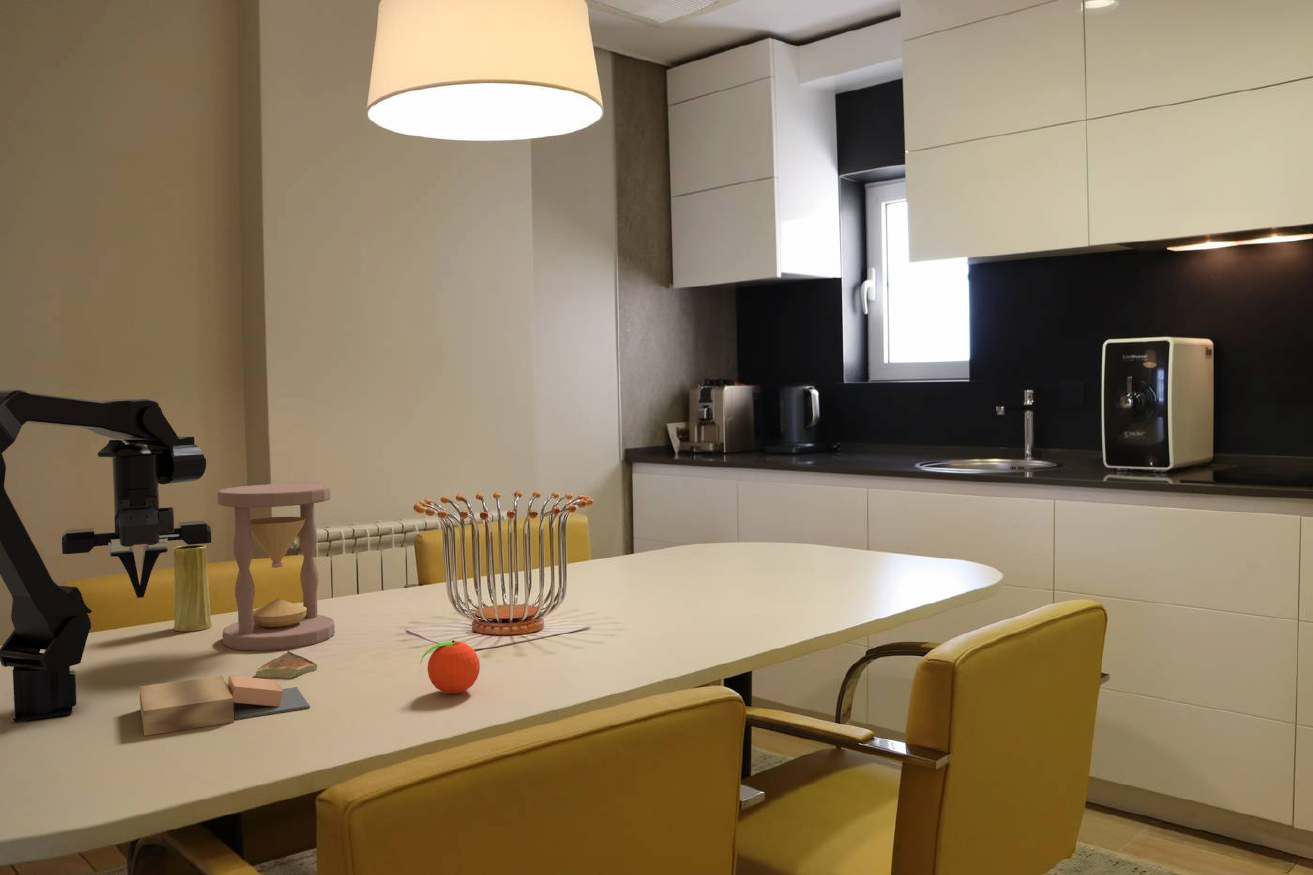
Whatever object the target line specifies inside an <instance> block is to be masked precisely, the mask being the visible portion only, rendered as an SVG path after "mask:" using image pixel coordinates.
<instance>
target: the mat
mask: <svg viewBox="0 0 1313 875" xmlns="http://www.w3.org/2000/svg"><path fill="white" fill-rule="evenodd" d="M282 690H283V695H282V699H281V704H280V707H277V706H266V705H256V704H245V703H235V702H233V707H234V720H241V719H246V718H247V719H248V718H254V717H261V716H268V715H273V714H279V713H287V712H294V711H299V710H306V709H310V708H311V705H310V703H309V702H308V701H307V699H306V698H305V696H304V695H303V694H302V692H301V691H300V690H299V688H298V687H297V686H294V687H288V688H282Z"/></svg>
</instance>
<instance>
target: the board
mask: <svg viewBox="0 0 1313 875" xmlns="http://www.w3.org/2000/svg"><path fill="white" fill-rule="evenodd" d="M139 707H140V716H141V722H142V728H143V735H144V737H146V736H151V735H159V734H165V733H172V732H177V731H184V730H190V729H197V728H204V727H209V726H216V725H223V724H230V723H234V722H235V718H234V707H233V697H232V695H231V692H230V690H229V688H228V686H227V682H226V680H225V678H224V676H223V675H217V676H209V677H201V678H193V679H186V680H179V681H178V680H177V681H171V682H164V683H155V684H150V685H143V686H142V685H141V686H139Z"/></svg>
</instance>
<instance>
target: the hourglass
mask: <svg viewBox="0 0 1313 875" xmlns="http://www.w3.org/2000/svg"><path fill="white" fill-rule="evenodd" d="M330 499H331V488H330V486H329V485H327V484H321V483H301V482H300V483H296V482H295V483H271V484H270V483H269V484H255V485H241V486H234V487H227V488H222V489H220V490H218V491H217V505H218V506H222V507H229V508H233V509H234V537H233V554H234V558H235V560H236V564H237V567H238V573H237V578H236V581H235V587H234V590H235V591H234V594H235V601H236V606H237V616H238V621H237V622H233V623H231V624H229V625H227V626H225V627H224V628H223V631H222V644H223V645H224V646H225V647H227V648H230V649H233V650H239V651H255V652H256V651H258V652H262V651H280V650H287V649H296V648H301V647H302V648H303V647H305V646H310V645H315V644H319V643H321V642H324V641H327V640H329V639H330V638H331V637H333V636H335V633H336V631H335V626H336V625H335V622H334V619H333V618H331V617H329V616H327V615H320V614H318V589H319V588H318V586H319V571H318V568H317V564H316V562H315V558H314V556H315V552H316V549H317V548H316V546H317V543H318V532H317V527H316V523H315V521H316V520H315V504H318V503H323V502H326V501H329V500H330ZM291 506H292V507H293V506H299V513H300V515H299V516H271V517H270V516H268V517H259V518H252V519H251V514H250V513H251V510H250V509H251V508H277V507H278V508H279V507H280V508H281V507H291ZM297 537H298V540H299V544H300V549H301V551H302V554H303V560H302V564H301V570H300V573H299V577H300V585H301V590H302V604H303V605H301V604H297V603H294V602H291V601H287V600H284V599H281V598H276V599H274V600H272V601H269V602H268V603H266V604H264V605H262V606H260V607H258V608H256V609H254V602H255V594H256V593H255V592H256V591H255V590H256V586H255V582H254V579H253V576H252V573H251V570H250V566H251V564H252V563H251V562H252V559H253V554H254V542H253V538H254V539H255V541H256V542H257V544H258V545H259V546H260V547H261V549H263V551H264V552H265V553H266V555H267V556H268V557H269V559H270V560H271V561H272V562H271V568H273V569H274V568H275V569H278V568H283V562H282V560H283V558H284V557H285V555H286V554H287V552H288V550H289V549H290V548H291V546H292V545H293V543H294V542H295V540H296V539H297Z"/></svg>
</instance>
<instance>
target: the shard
mask: <svg viewBox="0 0 1313 875" xmlns="http://www.w3.org/2000/svg"><path fill="white" fill-rule="evenodd" d="M317 669H318V665H317V663H315V662H313V661H312V660H309V659H308V658H306V657H303V656H300V654H299V655H298V654H294V653H293V652H291V651H289V650H288V651H287V652H286V653H285V652H284V653H283V654H282V655H280V656H278V657H276V658H274V659H271V660H270V661H268V662H266V663H265V664H262V665H261V666H260V667H259V668H257V669H256V671H255V676H256V678H290V679H292V678H295V677H297V676H300V675H303V674H305V673H306V674H307V673H310V672H314V671H317Z"/></svg>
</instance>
